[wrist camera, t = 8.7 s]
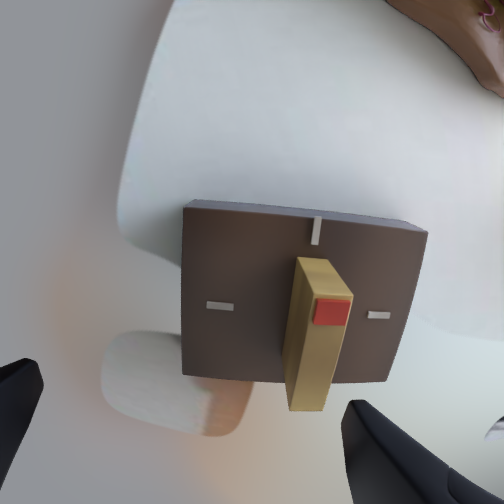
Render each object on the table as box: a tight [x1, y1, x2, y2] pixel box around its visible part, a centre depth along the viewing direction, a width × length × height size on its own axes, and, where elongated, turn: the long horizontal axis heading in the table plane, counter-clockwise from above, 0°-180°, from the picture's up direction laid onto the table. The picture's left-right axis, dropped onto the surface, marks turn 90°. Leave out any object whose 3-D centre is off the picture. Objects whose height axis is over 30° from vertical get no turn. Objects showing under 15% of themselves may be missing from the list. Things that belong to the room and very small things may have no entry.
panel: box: [181, 199, 428, 383], centre depth 18 cm, size 13×10×3 cm
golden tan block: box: [281, 257, 353, 411], centre depth 14 cm, size 6×2×5 cm, turn 175°
